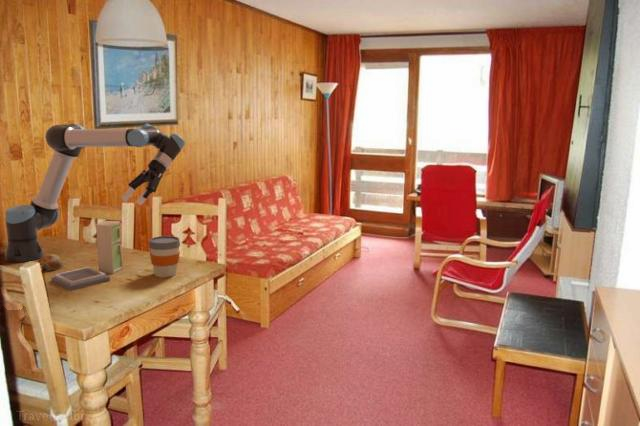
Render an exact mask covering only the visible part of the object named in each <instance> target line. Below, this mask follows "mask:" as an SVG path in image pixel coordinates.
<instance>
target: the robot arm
mask: <svg viewBox="0 0 640 426" xmlns="http://www.w3.org/2000/svg"><path fill="white" fill-rule="evenodd" d="M44 137H45V142H46V144H47V145H48V146H49V148H51V149H52V150H53V155H52V157H51V160H50V162H49V165H48V168H47V169H46V172H45V175H44V178H43V181H42V183H41V186H40V188H39V191H38V193H37V196H34V197H32V198H31V201H30V204H19V205H16V206H12V207H11V206H10V207H9V208H8V209H6V211H5V217H4V220H5V227H6V236H7V237H6V238H7V244H6V245H7V246H6V248H5V252H4V260H5V261H6V262H9V263H10V262H11V263H22V262H29V261H31V262H32V261H36V260H39V259H40V258H42V257H43V256H44V251H43V248H42V246H41V245H40V243H39V240H38V232H37V231H40V230H43V229H46V228H50V227H51V226H53V225H54V224H55V223H57V221H58V220H59V217H60V211H59V204H58V199H59V197H60V194H61V191H62V189H63V187H64V184H65V182H66V179H67V178H68V174H69V172H70V168H71V166H72V165H73V162H74V160H75V159H76V158H77V159H78V157H79V156H80V154H81V152H82V150H83V149H85V148H93V147H94V148H95V147H97V148H101V147H102V148H103V147H104V148H105V147H107V148H108V147H110V148H111V147H113V148H115V147H118V148H119V147H135V148H143V147H147V146H152V147H154V148H155V149H157V150H158V151H157V152H156V153H155V155H154V156H153V158H152V159H151V160H150V162H148V164H147V168H148V169H147V170H145V169H143V170H142V171H141V172H140V173H139V174H138V175H137V176H136V177H134V179H132V180H131V181H130V182H129V183H128V186H129V187H128V189H126V191H125V192H124V194H123V195H122V196H121V197H120V199H121V200H122V201H124V202H125V203H127V202H128V201H129V199H130V198H131V197H132V195H133V194H134V192H136V190H137V188H140V187H141V186H142V185H143V184H145V183H147V185H146V186H147V187H145V189H144V190H143V191H142V193H141V194H140V195H139V197H138V198H137V199H136V201H135V202H136V203H137V204H138V205H139V206H143V204H144V202H146V200H147V199H148V198H149V196H150V195H151V194H152V193H156V192H157V190H158V187H159V184H160V182H161V179H162V178H163V175H164V174H165V172H166V171H167V169H168V168H169V167H171V166H172V165H171V164H172V163H173V161H174V160H175V159H176V157H177V156H178V155H179V154H180V152H182V149H183V148H184V146H185V145H186V143H185V140H184V139H183V137H182V136H180V135H179V134H176V133H171V134H170V135H168V134H166V133H164V132H163V131H162V130H159V129H158V128H156V127H155V126H154V125H152V124H149V123H144V124H143V125H141V127H140V128H103V129H102V128H97V129H96V128H95V129H92V128H91V129H89V128H87V129H86V128H84V126H83V125H80V124H75V123H69V124H68V123H67V124H55V125H52V126H49V128H48V129H47V130H46V132H45V136H44Z"/></svg>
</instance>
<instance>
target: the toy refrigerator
mask: <svg viewBox="0 0 640 426" xmlns="http://www.w3.org/2000/svg"><path fill="white" fill-rule="evenodd" d="M95 228H96V245H97V259H98V271H100V272H102V273H105V274H112V275H113V274H115V273H117V272H119V271H120V270H123V269H124V261H123V241H122V240H123V237H122V222H121V221H116V220H104V221H102V222H98V223H96V225H95Z"/></svg>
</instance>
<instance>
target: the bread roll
mask: <svg viewBox="0 0 640 426" xmlns="http://www.w3.org/2000/svg"><path fill="white" fill-rule="evenodd" d="M37 262H39V263H40V265H41V268H42V271H41V272H53V271H58V270H61V269H62V268H63V267H64V263H63V260H62V259H61V257H60V256H58V255H57V254H53V253H49V254H44V255H43V256H42V257H41V258H39V259H38V261H37Z"/></svg>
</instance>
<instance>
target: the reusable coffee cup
mask: <svg viewBox="0 0 640 426" xmlns="http://www.w3.org/2000/svg"><path fill="white" fill-rule="evenodd" d="M148 242H149V243H148V248H149V250H150V253H149V257H150V262H151V263H150V264H151V265H152V267H153V271H154V272H153V273H154V276H155V277H156V278H157V277H159V278H169V277H174V276H175V275H177V274H178V264H179V261H180V252H181V251H180V246H181V243H180V242H181V241H180V238H179V236H178V237H177V236H172V235H163V236H162V235H161V236H155V237H151V238H150V239H149V241H148Z"/></svg>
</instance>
